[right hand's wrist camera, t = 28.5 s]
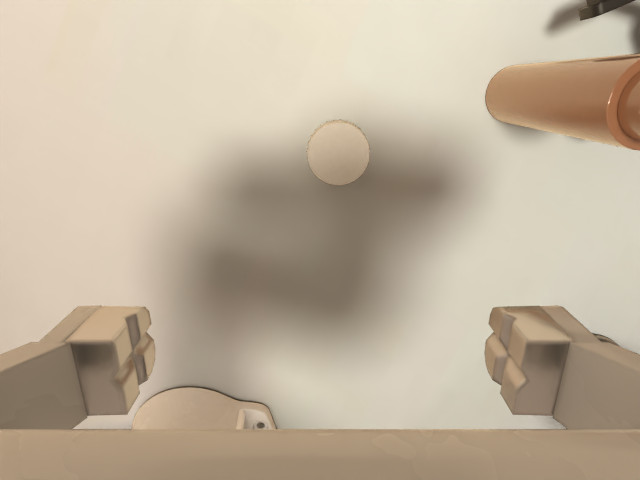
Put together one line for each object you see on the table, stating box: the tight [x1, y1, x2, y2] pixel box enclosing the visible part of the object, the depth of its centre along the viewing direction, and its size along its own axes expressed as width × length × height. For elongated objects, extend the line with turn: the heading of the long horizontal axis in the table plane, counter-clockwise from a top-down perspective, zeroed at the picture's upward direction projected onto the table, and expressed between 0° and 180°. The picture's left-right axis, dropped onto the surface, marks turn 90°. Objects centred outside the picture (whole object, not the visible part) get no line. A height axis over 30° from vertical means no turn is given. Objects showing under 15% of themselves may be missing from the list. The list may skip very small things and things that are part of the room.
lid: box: [307, 120, 370, 185], centre depth 37 cm, size 5×5×2 cm
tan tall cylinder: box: [486, 53, 640, 150], centre depth 28 cm, size 5×5×18 cm
